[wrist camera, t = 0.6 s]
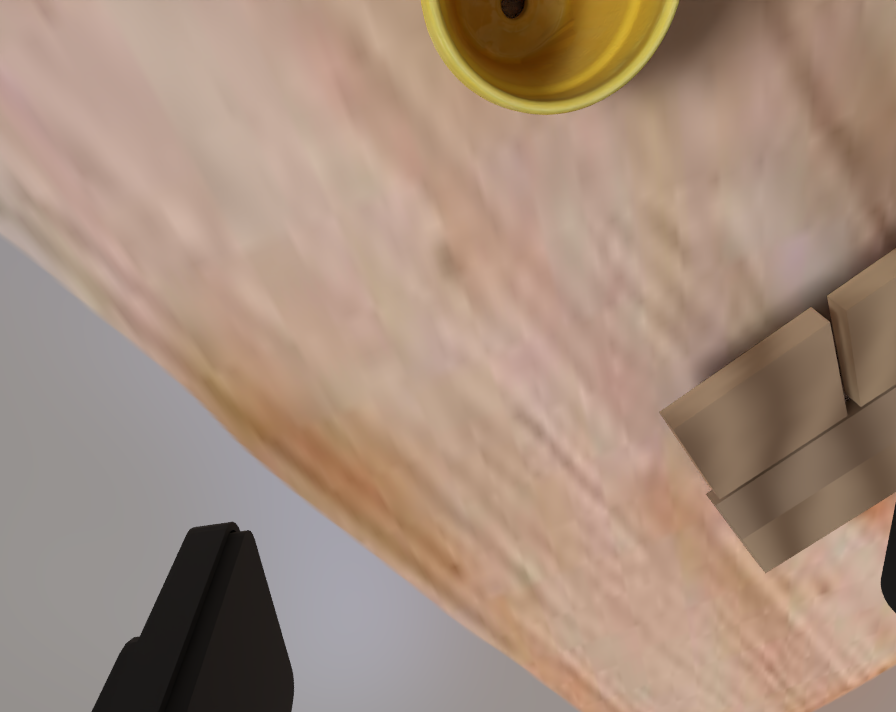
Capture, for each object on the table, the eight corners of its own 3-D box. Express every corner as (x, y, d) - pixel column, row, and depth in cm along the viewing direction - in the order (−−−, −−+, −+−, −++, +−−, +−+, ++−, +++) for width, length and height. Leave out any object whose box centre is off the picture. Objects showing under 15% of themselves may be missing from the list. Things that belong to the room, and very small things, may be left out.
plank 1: (707, 483, 46) (719, 499, 45) (659, 412, 37) (673, 429, 36) (831, 401, 44) (847, 415, 43) (811, 306, 36) (830, 322, 35)
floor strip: (987, 308, 43) (1006, 315, 41) (1023, 391, 46) (1042, 400, 44) (706, 494, 46) (715, 505, 45) (755, 560, 49) (765, 573, 48)
